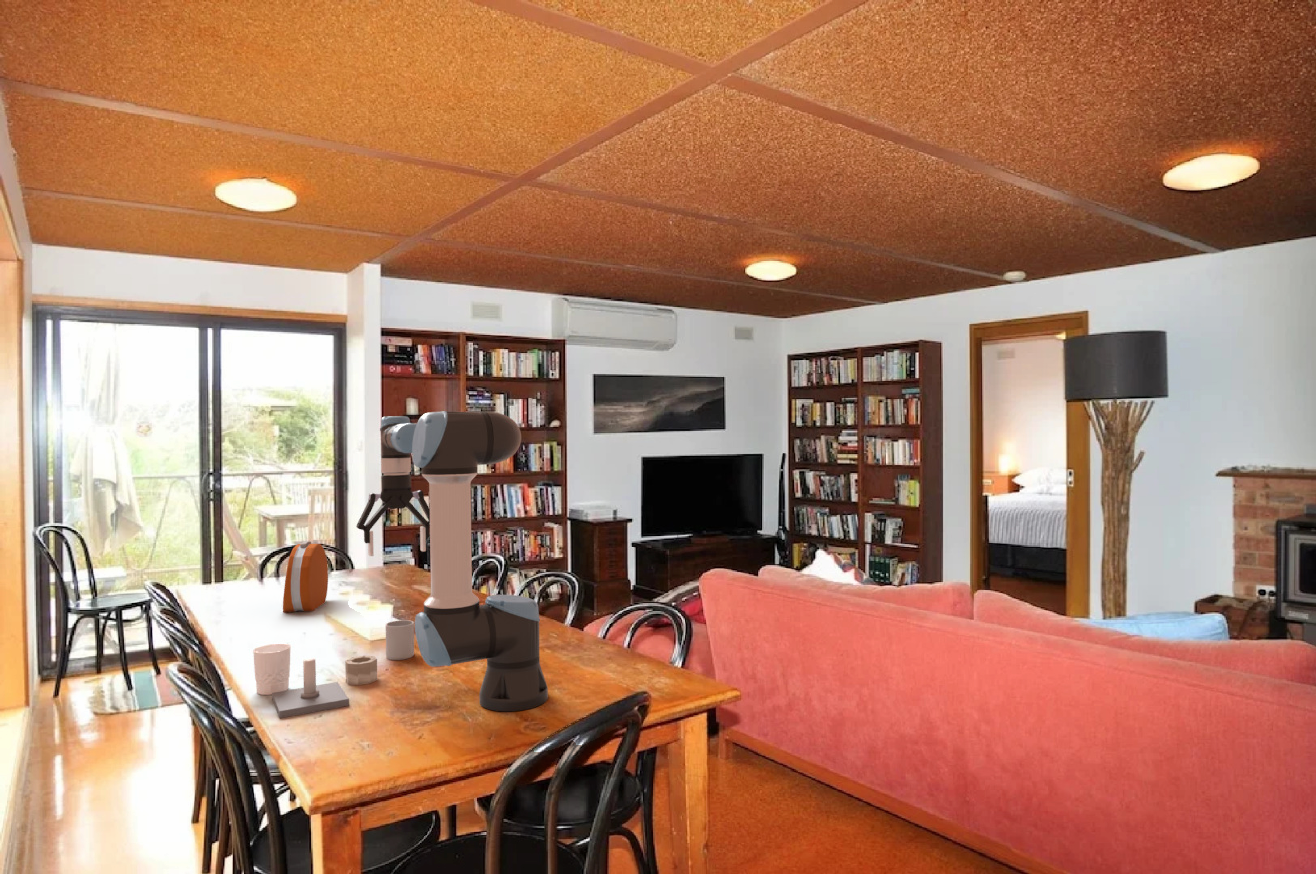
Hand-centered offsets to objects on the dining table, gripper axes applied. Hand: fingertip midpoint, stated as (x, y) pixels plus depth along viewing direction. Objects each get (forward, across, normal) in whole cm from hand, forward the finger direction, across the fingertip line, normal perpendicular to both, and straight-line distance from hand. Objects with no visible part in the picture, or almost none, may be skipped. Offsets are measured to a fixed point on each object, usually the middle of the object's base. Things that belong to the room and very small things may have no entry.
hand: (397, 553), depth 213 cm
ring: (+28, +12, +15) cm, 34 cm away
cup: (+28, 0, -2) cm, 28 cm away
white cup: (+28, +32, +12) cm, 44 cm away
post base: (+28, +25, +26) cm, 45 cm away
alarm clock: (+28, +14, -81) cm, 87 cm away
